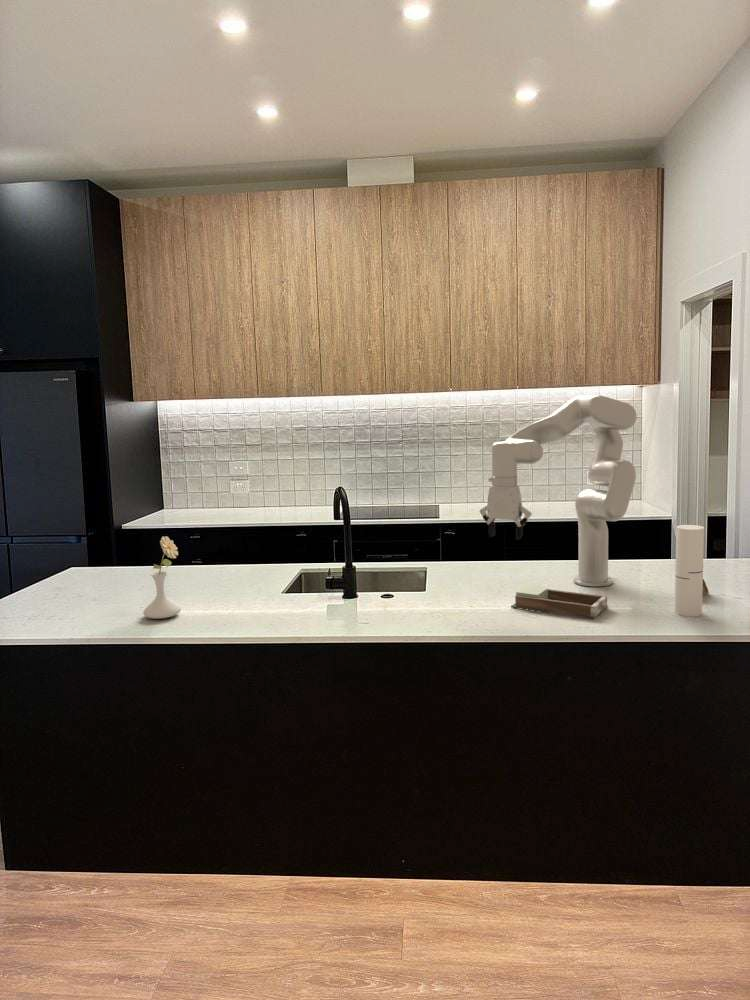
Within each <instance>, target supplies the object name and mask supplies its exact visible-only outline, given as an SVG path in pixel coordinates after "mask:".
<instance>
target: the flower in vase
mask: <svg viewBox="0 0 750 1000" xmlns="http://www.w3.org/2000/svg"><path fill="white" fill-rule="evenodd" d="M159 544H160V548H161V549H162V552H163V555H162V558H161V562H160V565H158V564H155V563H154V564H153V567H152V569H157V570H158V569H159V570H158V571H154V572H151V574H150V576H151V577H152V579H153V580H154V582H155V588H156V597H154V599H153V600H152V602H151V603H149V604H148V605H147V606H146V607H145V608H144V610H143V615H144V616H145V618H147V619H157V620H159V619H160V620H161V619H167V618H171V617H174V616H176V615H178V614H180V612H181V611H182V607H181V606H180V605H179V604H178V603H177V602H176V601H174V600H172V599H170V598H169V597H167V595H166V593H165V578H166V576H167V574H168V572H167V571H161V570H162V568H163V565H164V566H165V567H166V568H168V567H170V566H171V565H172V561H171V560H169V559H167V558H170V559H177V556H179V551H178V547H177V546H176V543H175V544H174V540H173V539H172V540H171V539H170V538H169V536H167V535H166V536H163V535H162V537H161V538H160V540H159ZM165 556H167V558H165V559H164V557H165Z"/></svg>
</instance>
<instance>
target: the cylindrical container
mask: <svg viewBox="0 0 750 1000" xmlns="http://www.w3.org/2000/svg"><path fill="white" fill-rule="evenodd" d="M675 528H676V530H675V533H676V535H675V537H676V538H675V579H674V580H675V582H674V583H675V587H674V590H675V591H674V613H675V614H677V615H679V616H683V617H698V616H701V615H703V595H702V590H703V579H704V578H703V577H704V551H705V550H704V549H705V547H704V545H705V541H704V540H705V527H704V526H702V525H696V524H679V525H676V527H675Z"/></svg>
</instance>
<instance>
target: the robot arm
mask: <svg viewBox="0 0 750 1000" xmlns="http://www.w3.org/2000/svg"><path fill="white" fill-rule="evenodd" d="M637 417H638V415H637V411H636V409H635V407H634V406H633V405H631V404H630V403H628V402H625V401H622V400H617V399H615V398H611V397H608V396H605V395H598V394H592V395H590V394H587V395H586V394H584V395H583V394H581V395H578V396H575V397H573V398H571V399H569V400H568V401H567V402H566V403H564V404H563V405H562V406H560V407H559V408H558V409H557V410H555V411H554V412H552V413H551V414H550V415H548V416H547V417H544V418H542V419H540V420H538V421H535V422H533V423H531V424H528V425H526V426H523V427H522V428H521V429H519V430H517V431H516V432H515V433H513V434H511V435H510V436H509V437H508V438H507V439H505V440H504V441H496V442H494V443H493V444H492V445H491V467H492V468H491V471H492V472H491V474H492V476H491V477H489V478H488V482H489V483H491V485H490V486H489V489H488V495H487V505H486V506H484V507H482V508H481V509H480V510H479V513H480V515H481V516H482V519H483V520H484V521H485V522H486V524H487V526H488V527H487V529H488V530H487V531H488V536H489V538H492V537H495V536H496V531H497V530H496V523H495V521H496V520H507V521H514V523H515V524H516V527H515V540H518V541H519V540H520V539H522V538H523V535H524V526H525V524H527V522H528V521H529V519H530V518H531V516H533V515H532V512H531V511H529V510H528V509H527V508H526V507H524V506H523V500H522V494H521V489H520V486H519V485H518V465H519V464H520V465H521V464H523V465H525V464H526V465H533V464H534V465H535V464H536V463H538V462H540V460H541V459H542V457H543V454H544V449H543V446H542V444H547V443H554V442H557V441H561V440H563V439H564V438H566V437H567V436H569V435H570V434H571V433H572V432H574V431H575V430H577V429H578V428H579V427H580V426H582V425H583V424H585V423H589V424H590V426H591V427H592V429H593V431H594V434H595V437H596V438H595V439H596V444H595V448H594V452H593V455H592V459H591V462H590V466H589V470H588V476H587V477H588V480H589V482H590V483H591V484H592V485H595V486H599V487H604V488H607V490H603V489H596V488H587V489H583V490H582V491H579V493H578V494H577V495H576V498H575V502H574V503H575V512H576V516H577V517H576V518H577V525H578V575H576V576H574V577H573V583H575V584H576V585H580V586H584V587H592V588H593V587H595V588H596V587H598V588H599V587H600V588H601V587H607V586H611V585H612V584H613V583H614V581H613V578H612V577H610V576H609V528H608V524H607V522H617V521H620V520H621V519H623V517H624V516H625V514H626V513H627V510H628V507H629V505H630V504H629V503H630V501H631V497H632V493H633V491H634V486H635V483H636V480H637V479H636V477H637V473H636V469H635V466H634V464H633V463H632V462H631V461H629V460H627V459H623V458H622V459H621V457H622V452H623V448H624V441H623V437H622V435H621V432H620V431H624V430H629V429H630V428H632V427H633V426H634V425H635V423H636V421H637ZM523 514H524V516H523ZM522 516H523V518H522Z"/></svg>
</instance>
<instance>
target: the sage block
mask: <svg viewBox="0 0 750 1000" xmlns="http://www.w3.org/2000/svg"><path fill="white" fill-rule="evenodd" d="M548 589H549V588H548V587H544V586H543V587H541V586H535V585H534V586H533V585H525V586H524V587H522V588H520V589H519V590H517V591H516V592H515V596H516V595H520V596H527V597H535V598H542V599H548Z"/></svg>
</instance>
